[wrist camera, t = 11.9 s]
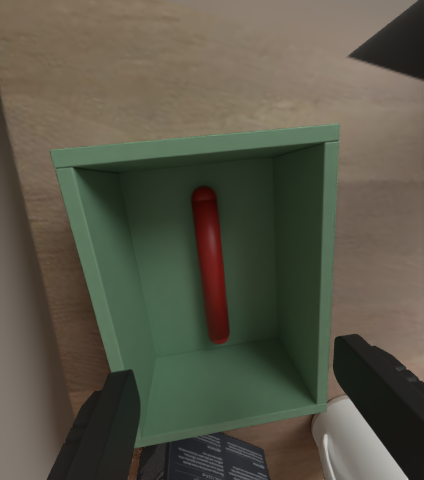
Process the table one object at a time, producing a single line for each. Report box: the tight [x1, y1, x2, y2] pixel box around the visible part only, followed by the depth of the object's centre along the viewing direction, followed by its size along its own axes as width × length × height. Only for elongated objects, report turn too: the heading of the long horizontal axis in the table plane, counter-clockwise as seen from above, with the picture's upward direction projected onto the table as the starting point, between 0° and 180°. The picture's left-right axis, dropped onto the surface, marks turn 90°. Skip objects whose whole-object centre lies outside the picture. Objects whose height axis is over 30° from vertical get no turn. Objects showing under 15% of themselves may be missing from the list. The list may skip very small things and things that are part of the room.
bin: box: [50, 124, 340, 448], centre depth 16 cm, size 19×14×8 cm
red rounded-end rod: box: [191, 186, 230, 345], centre depth 19 cm, size 2×14×2 cm, turn 6°
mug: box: [311, 395, 409, 480], centre depth 22 cm, size 11×9×10 cm
